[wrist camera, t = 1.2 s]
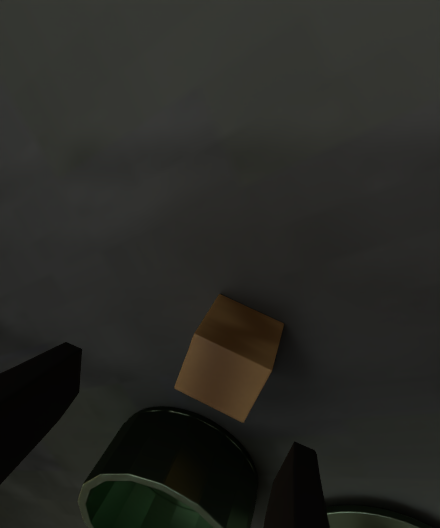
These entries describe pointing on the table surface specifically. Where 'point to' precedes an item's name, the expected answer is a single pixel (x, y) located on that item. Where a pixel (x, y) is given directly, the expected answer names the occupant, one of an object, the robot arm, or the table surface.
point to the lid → (369, 518)
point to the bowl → (170, 475)
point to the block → (230, 357)
